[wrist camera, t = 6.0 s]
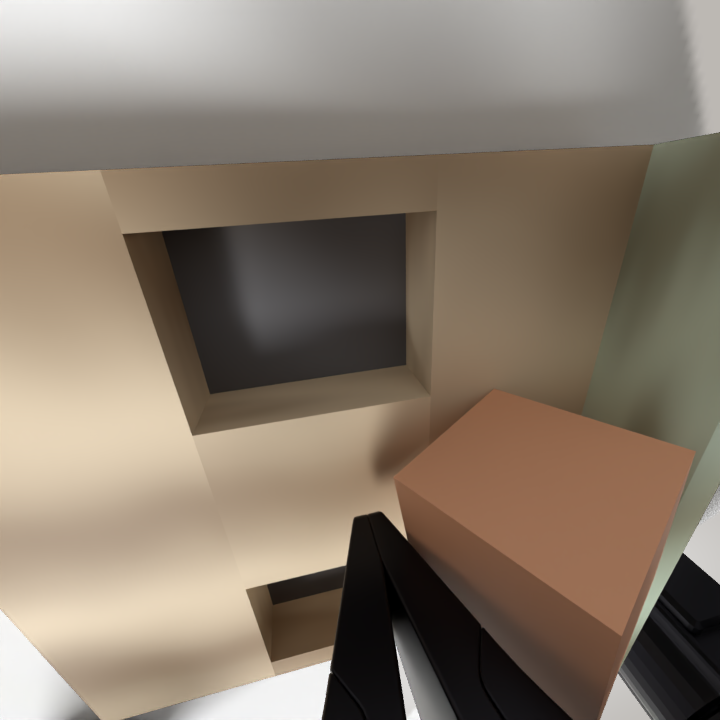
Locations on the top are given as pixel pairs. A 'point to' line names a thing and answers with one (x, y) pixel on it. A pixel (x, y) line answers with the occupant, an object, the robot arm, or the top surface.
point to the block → (546, 534)
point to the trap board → (313, 378)
